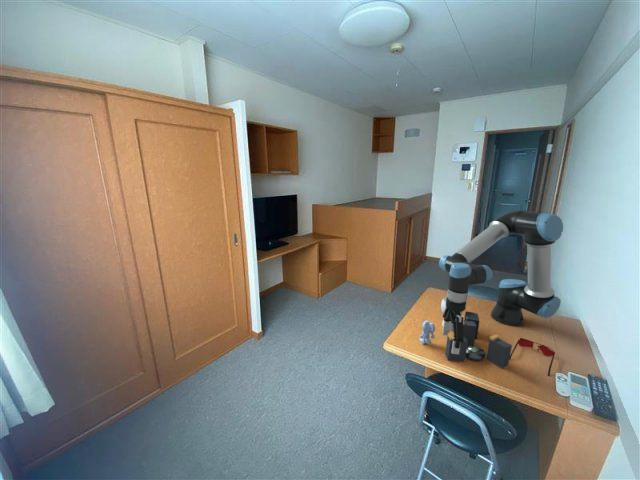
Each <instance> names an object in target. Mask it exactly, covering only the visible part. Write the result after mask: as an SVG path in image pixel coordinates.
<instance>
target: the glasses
mask: <svg viewBox="0 0 640 480" xmlns="http://www.w3.org/2000/svg"><path fill="white" fill-rule="evenodd" d="M534 344H536V345H537V344H538V345H537V347H538V348H537V351H538V352H539V351H541V353H542V354H543V355H544V356H546V357H552V358H551V361H550V363H549V368H548V372H547V377H550V374H551V369H552V365H553V362H554V358H555V355H556V352H555V350H554V349H553V348H551V347H549V346H546V345H545V344H540V343H537V342H534V341H532V340H529V339H526V338H523V337H520V338H519V339H518V340H517V342H516V344H515V346H514V347H513V349H512V350H511V354H510V359H509V361H511V358H512V356H513V354H514V352H515V350H516V348H517V346H518V345H519V347H526V348H530V349H533V348H534Z"/></svg>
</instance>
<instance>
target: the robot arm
mask: <svg viewBox="0 0 640 480" xmlns="http://www.w3.org/2000/svg"><path fill="white" fill-rule="evenodd" d="M562 220H563V219H561V217H560V216H558V215H557V214H554V213H549V212H539V211H532V210H531V211H530V210H522V209H521V210H520V209H519V210H512V211H508V212H506V213H504V214H501V215H500V216H498V217H497V218H495V219H494V220H492V221H491V222H490V223H489V226H488V227H486V228H485V229H484V230H483V231H481V232H480V233H479V234H478V235H477V236H475V237H474V238H473V239H471V240H470V241H469V242H468V243H466V244H465V245H464V246H463V247H461V248H459V250H458V251H456V252H454V254H453V255H449V254H448V255H442V257H440V259H439V261H438V265H439V268H440V269H441V270H442V271H444V272H446V273H449V277H448V286H447V291H446V297H447V298H446V309H445V311H444V314H443V313H442V318H443V319H444V321H445V322H444V325H443V326H442V333H441V334H442V336H448V333H451V332H450V331H451V330H450V324H451V323H450V322H452V324H453V329H454V330H453V335H454V339H453V345H452V352H451V353H452V354H459V351H460V344H461V343H464V334H463V321H464V320H465V317H463V316H462V314H460V312H462V311H463V312H464V311H466V307H467V301H468V293H469V287H470V286H474V285H479V284H485V283H488V282H490V281H491V280H492V279H493V276H494V275H493V274H494V273H493V271H492V269H491V268H490V267H489V266H488V265H487V264H478V265H477V264H474V263H472V262H473V261H474V260H476V259H477V258H478V257H479V256H481V255H482V254H483V253H484V252H486V251H487V250H488V249H489V248H491V247H492V246H494V244H496V243H497V242H498V241H500V240H501V239H502V238H506V237H508V236H510V235H518V236H522V241H523V243H524V244H525V245H526V249H527V250H526V251H527V252H526V253H527V256H526V259H527V282H526V281H524V280H520V279H516V278H515V279H514V278H506V279H502V280H500V281H499V285H498V290H497V291H498V292H497V299H496V303H495V305H494V306H493V308H492V310H491V311H490V317H491V318H492V319H493V320H495V321H496V322H498V323H500V324H503V325H507V326H510V327H511V326H512V327H519V326H522V325H523V324H524V321H525V320H524V319H525V318H524V315H523V310H525V311H527V312H529V313H531V314H534V315H536V316H539V317H541V318H543V319H549V318H551V317H553V316H554V315H555V314H557V311H558V310H559V308H560V306H561V299H560V298H559V296H555V290H554V288H553V287H551V278H552V277H551V269H552V245H553V244H555V243H556V241H557V240H559V239H560V238H561V237H562V233H563V231H564V223H563V221H562ZM449 321H450V322H449ZM455 321H456V322H455Z"/></svg>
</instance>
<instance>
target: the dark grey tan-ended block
mask: <svg viewBox="0 0 640 480" xmlns="http://www.w3.org/2000/svg"><path fill="white" fill-rule="evenodd" d="M512 347H513V345H512V344H510V343H509V342H507V341H504V340H503V339H501V338H500V336H499V335H497V334H496V333H495V334H493V335H490V336H489V339H488V347H487V351H486V355H485V358H486V360H488V361H489V362H491V363H493V365H495V366H497V367H499V368H501V369H505V368H506V367H508V366H509V362H510V360H511V359H510V355H511V353H512ZM509 359H510V360H509Z"/></svg>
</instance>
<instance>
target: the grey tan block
mask: <svg viewBox="0 0 640 480" xmlns="http://www.w3.org/2000/svg"><path fill="white" fill-rule="evenodd" d="M476 328H477V326H476V324H475V323H474V322H471V321H464V320H463V334H464V336H465V338H466V340H467V341H468V343H469V344H474V345H475V341H476V339H475V335H476Z"/></svg>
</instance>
